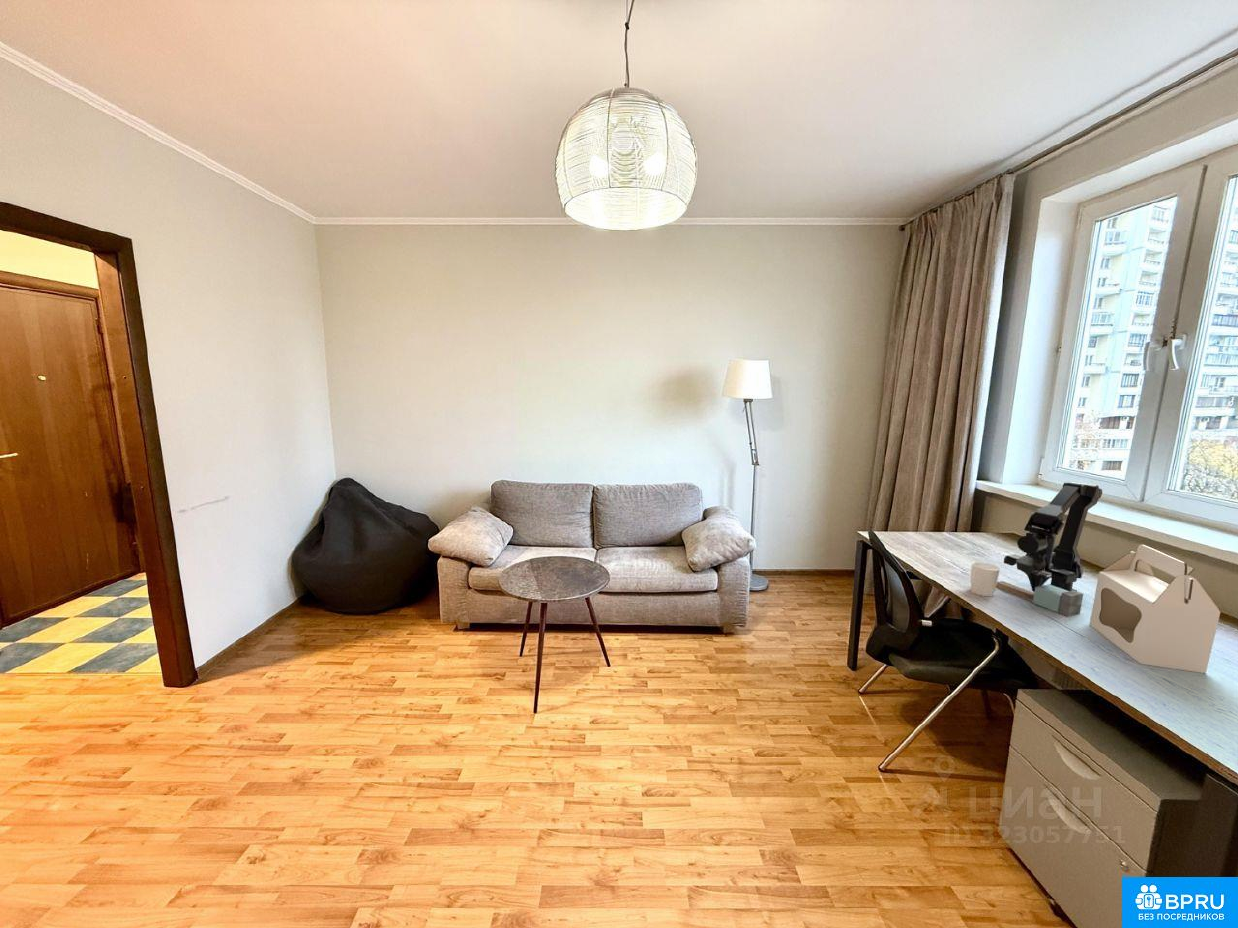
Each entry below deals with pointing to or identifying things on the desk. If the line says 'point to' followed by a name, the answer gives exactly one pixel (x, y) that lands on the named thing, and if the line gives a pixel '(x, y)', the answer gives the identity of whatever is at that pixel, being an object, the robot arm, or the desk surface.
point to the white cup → (984, 578)
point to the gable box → (1155, 611)
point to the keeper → (1048, 596)
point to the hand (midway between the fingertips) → (1034, 591)
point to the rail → (1068, 602)
